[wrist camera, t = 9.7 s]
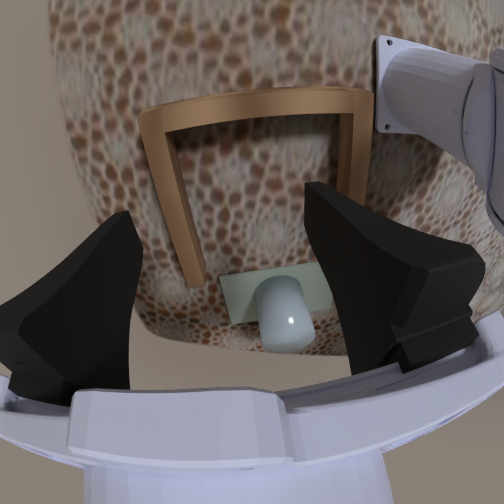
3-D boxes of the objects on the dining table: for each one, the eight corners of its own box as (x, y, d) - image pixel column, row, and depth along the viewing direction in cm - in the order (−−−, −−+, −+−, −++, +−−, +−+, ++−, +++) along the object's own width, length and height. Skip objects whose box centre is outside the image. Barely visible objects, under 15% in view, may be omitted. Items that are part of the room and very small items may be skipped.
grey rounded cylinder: (316, 300, 31) (330, 345, 26) (279, 319, 32) (288, 363, 28) (286, 267, 27) (300, 317, 22) (244, 291, 28) (251, 340, 24)
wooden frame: (357, 87, 16) (374, 93, 15) (345, 245, 26) (354, 262, 24) (146, 108, 16) (136, 116, 14) (190, 268, 26) (188, 287, 24)
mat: (338, 257, 27) (339, 259, 27) (330, 307, 32) (330, 308, 32) (219, 275, 27) (219, 277, 27) (231, 322, 32) (231, 324, 32)
